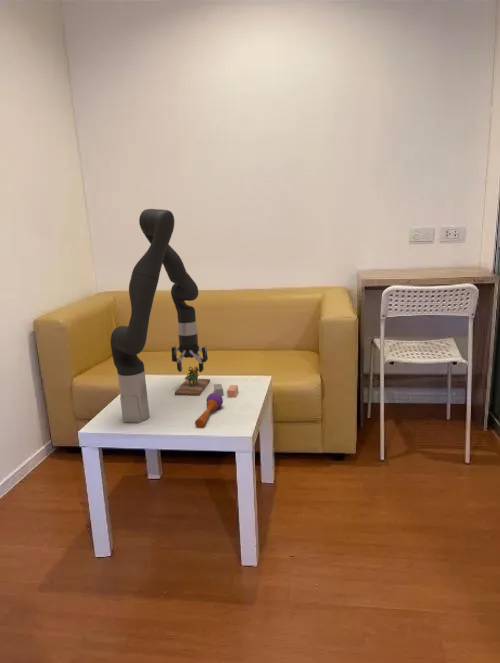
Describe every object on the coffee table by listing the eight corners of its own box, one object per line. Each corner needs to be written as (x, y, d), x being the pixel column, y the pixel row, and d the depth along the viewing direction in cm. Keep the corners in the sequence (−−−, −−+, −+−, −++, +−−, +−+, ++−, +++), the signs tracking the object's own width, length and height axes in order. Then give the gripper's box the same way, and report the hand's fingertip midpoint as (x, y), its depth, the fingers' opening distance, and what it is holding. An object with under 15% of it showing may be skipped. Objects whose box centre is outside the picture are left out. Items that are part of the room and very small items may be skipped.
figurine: (202, 380, 216) (201, 362, 214) (189, 390, 205) (187, 371, 203) (196, 380, 217) (194, 361, 215) (182, 390, 206) (180, 370, 204)
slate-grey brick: (223, 396, 201) (222, 388, 201) (215, 397, 201) (215, 389, 200) (221, 390, 207) (221, 383, 206) (214, 391, 207) (213, 384, 206)
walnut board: (199, 395, 203) (199, 392, 202) (175, 395, 205) (174, 392, 204) (210, 381, 218) (209, 378, 218) (187, 381, 220) (186, 378, 220)
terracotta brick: (235, 398, 199) (234, 390, 198) (227, 397, 199) (226, 390, 199) (238, 392, 205) (237, 385, 204) (230, 392, 205) (230, 385, 204)
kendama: (189, 416, 174) (207, 391, 192) (194, 432, 175) (211, 405, 194) (205, 414, 172) (222, 388, 190) (210, 430, 173) (226, 403, 192)
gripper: (167, 334, 203) (170, 374, 207) (202, 334, 201) (205, 374, 205) (173, 330, 211) (176, 368, 214) (207, 330, 208) (210, 368, 212)
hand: (190, 371), depth 209 cm, fingers open, 8 cm apart
